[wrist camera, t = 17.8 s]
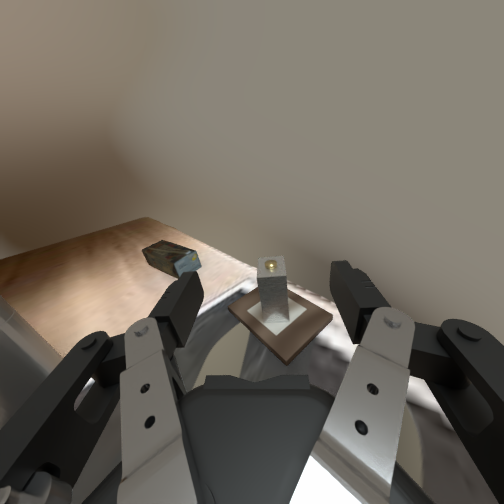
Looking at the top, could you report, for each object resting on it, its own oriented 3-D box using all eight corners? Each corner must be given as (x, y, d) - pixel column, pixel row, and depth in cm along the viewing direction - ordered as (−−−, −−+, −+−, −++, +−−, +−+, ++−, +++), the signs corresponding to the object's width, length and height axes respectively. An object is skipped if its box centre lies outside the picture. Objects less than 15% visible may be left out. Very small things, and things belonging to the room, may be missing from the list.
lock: (264, 323, 34) (256, 274, 29) (264, 299, 39) (257, 255, 34) (289, 322, 34) (286, 272, 29) (286, 298, 39) (283, 252, 34)
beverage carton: (180, 282, 52) (172, 261, 49) (147, 265, 64) (139, 248, 61) (202, 267, 58) (196, 248, 55) (169, 254, 69) (162, 238, 66)
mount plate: (332, 319, 34) (332, 314, 34) (286, 366, 28) (286, 360, 28) (270, 283, 46) (270, 278, 45) (228, 310, 40) (227, 305, 39)
